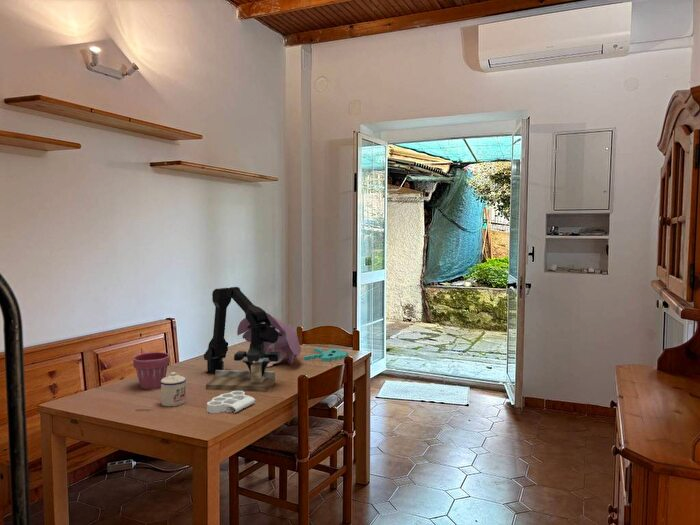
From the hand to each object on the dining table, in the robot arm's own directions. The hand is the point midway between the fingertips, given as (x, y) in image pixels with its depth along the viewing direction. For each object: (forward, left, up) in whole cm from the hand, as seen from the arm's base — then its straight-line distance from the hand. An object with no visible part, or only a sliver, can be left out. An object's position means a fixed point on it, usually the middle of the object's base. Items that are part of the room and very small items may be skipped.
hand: (257, 376), depth 210 cm
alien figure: (+24, +51, -4) cm, 57 cm away
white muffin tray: (-4, -27, -4) cm, 27 cm away
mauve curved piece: (-3, +36, -4) cm, 37 cm away
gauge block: (0, 0, -2) cm, 2 cm away
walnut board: (-6, -2, -4) cm, 8 cm away
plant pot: (-43, -6, -4) cm, 44 cm away
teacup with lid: (-25, -24, -4) cm, 35 cm away
